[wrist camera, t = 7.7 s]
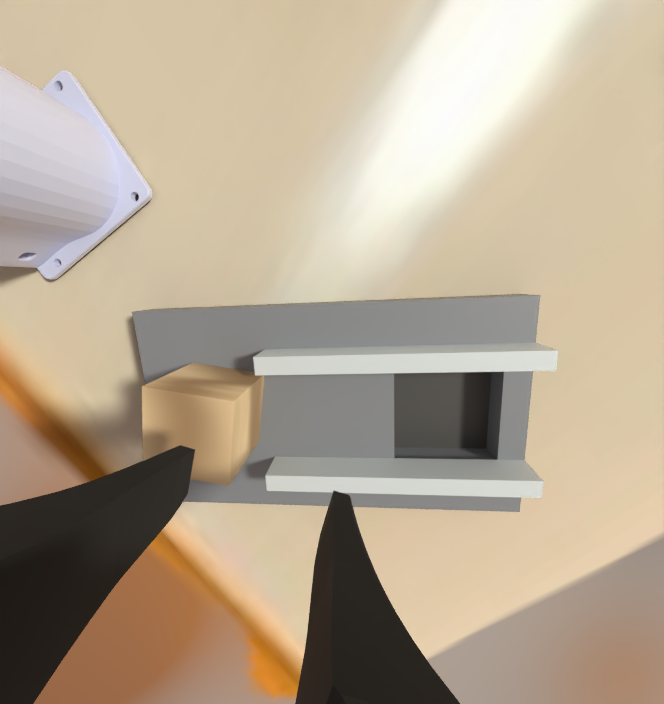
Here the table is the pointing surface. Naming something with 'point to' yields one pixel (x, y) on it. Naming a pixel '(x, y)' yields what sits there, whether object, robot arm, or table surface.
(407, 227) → the table surface
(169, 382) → the block
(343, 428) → the rail jig base
